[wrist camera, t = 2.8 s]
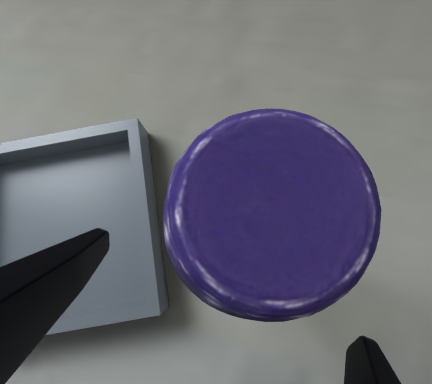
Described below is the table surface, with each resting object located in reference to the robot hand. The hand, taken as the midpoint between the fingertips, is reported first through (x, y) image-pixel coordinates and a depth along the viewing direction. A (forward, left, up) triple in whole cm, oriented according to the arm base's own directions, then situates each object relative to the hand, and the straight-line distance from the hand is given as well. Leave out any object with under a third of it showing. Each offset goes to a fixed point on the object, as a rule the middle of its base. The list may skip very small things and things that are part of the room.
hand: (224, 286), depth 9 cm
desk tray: (-11, +5, -10) cm, 16 cm away
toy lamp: (+1, +2, -11) cm, 11 cm away
